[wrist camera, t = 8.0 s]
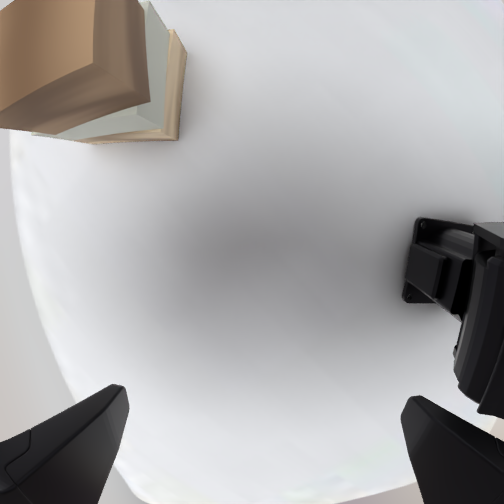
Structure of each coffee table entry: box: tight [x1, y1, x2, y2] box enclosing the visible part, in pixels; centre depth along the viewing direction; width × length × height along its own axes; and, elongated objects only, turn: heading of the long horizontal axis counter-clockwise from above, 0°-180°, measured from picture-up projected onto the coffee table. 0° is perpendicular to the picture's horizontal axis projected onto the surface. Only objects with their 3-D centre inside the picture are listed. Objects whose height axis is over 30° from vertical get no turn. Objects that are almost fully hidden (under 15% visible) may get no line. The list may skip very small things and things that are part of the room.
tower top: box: [31, 1, 170, 141], centre depth 12 cm, size 6×6×4 cm
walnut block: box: [0, 0, 151, 135], centre depth 8 cm, size 5×5×5 cm
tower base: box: [69, 29, 187, 144], centre depth 16 cm, size 6×6×4 cm
